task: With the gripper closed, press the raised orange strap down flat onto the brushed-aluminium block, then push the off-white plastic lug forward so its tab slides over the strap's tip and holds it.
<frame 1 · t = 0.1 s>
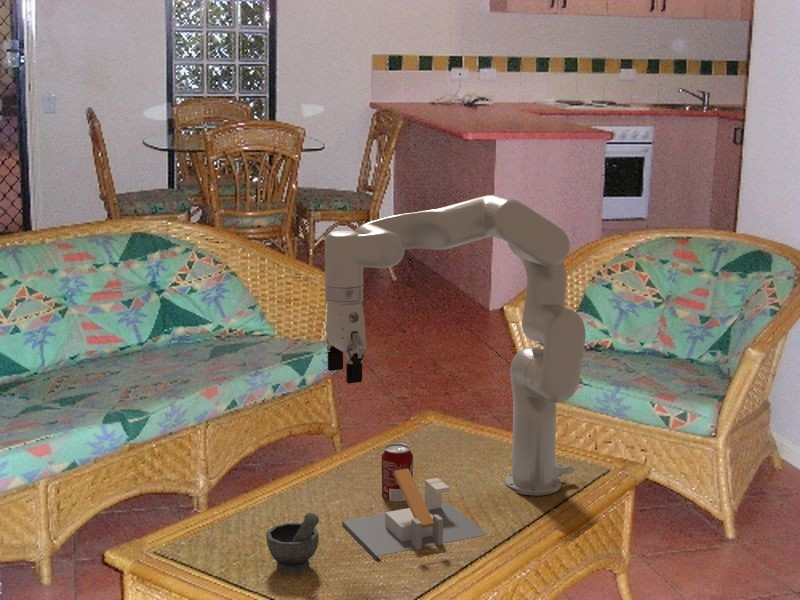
hand: (344, 376, 233), 31 cm above the table, fingers open, 9 cm apart
lug: (436, 496, 241), point 4 cm above the table, slide at 0.0 cm
soda can: (397, 500, 251), on the table
strap: (413, 497, 230), point 8 cm above the table, hinge at -30.0°
board: (413, 533, 234), on the table
mortar and pestle: (295, 568, 218), on the table
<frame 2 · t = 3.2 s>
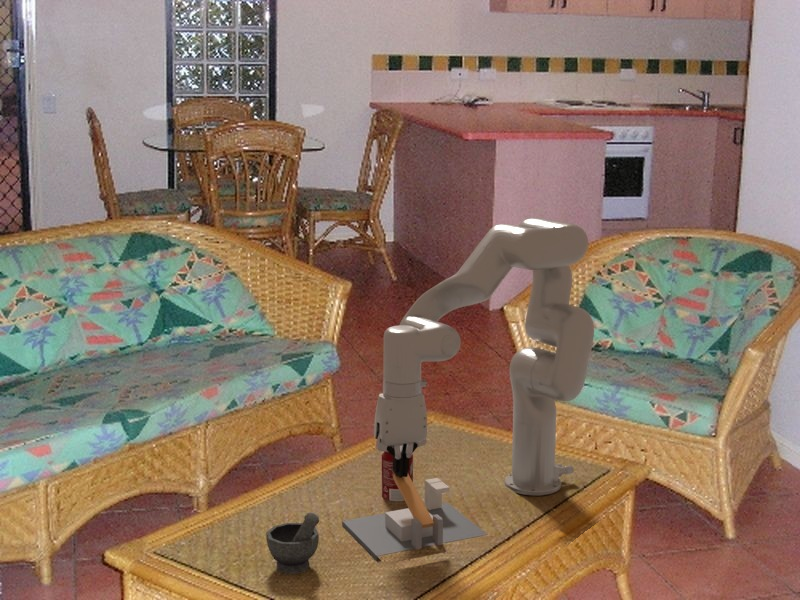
hand: (400, 475, 234), 12 cm above the table, fingers closed
strap: (413, 499, 230), point 8 cm above the table, hinge at -25.6°, touching gripper
everything else where it was.
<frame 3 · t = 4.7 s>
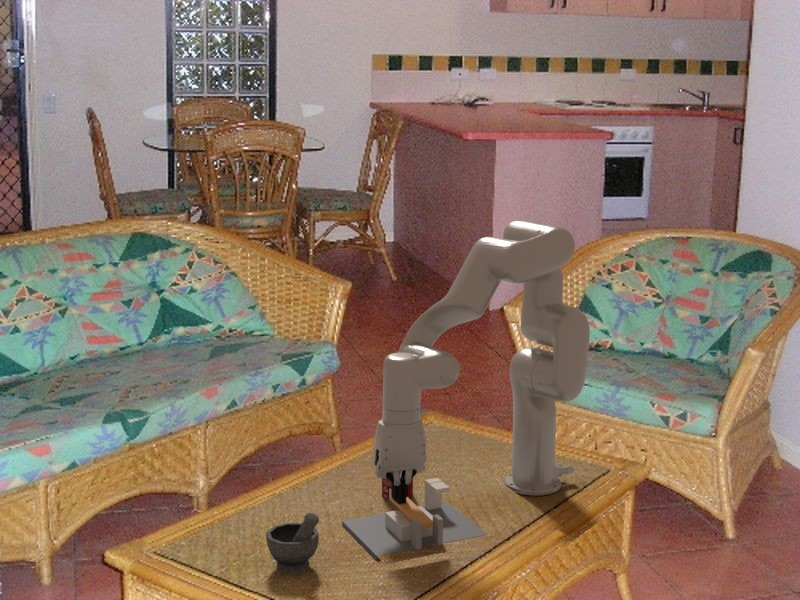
hand: (399, 501, 234), 6 cm above the table, fingers closed
strap: (411, 510, 231), point 5 cm above the table, hinge at -3.0°, touching gripper
everything else where it was.
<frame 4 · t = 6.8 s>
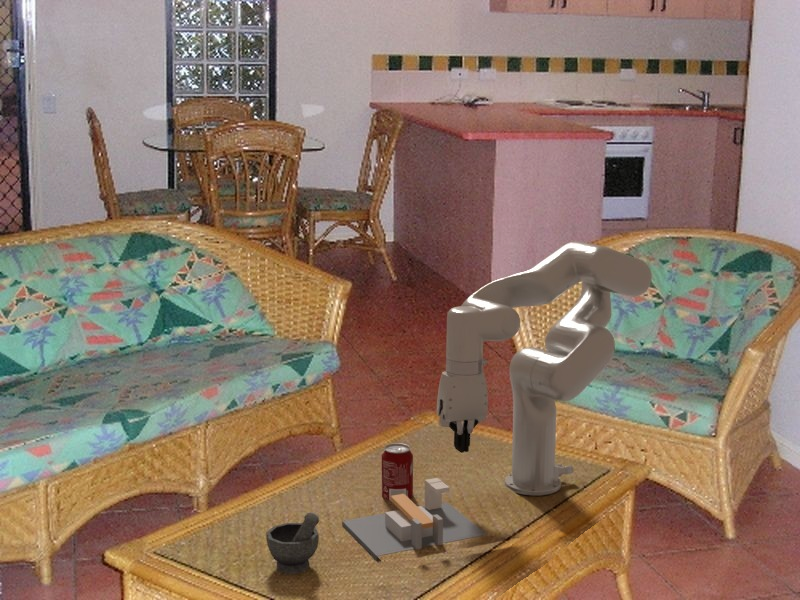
hand: (461, 450, 243), 13 cm above the table, fingers closed
strap: (411, 510, 231), point 5 cm above the table, hinge at -2.9°
everything else where it was.
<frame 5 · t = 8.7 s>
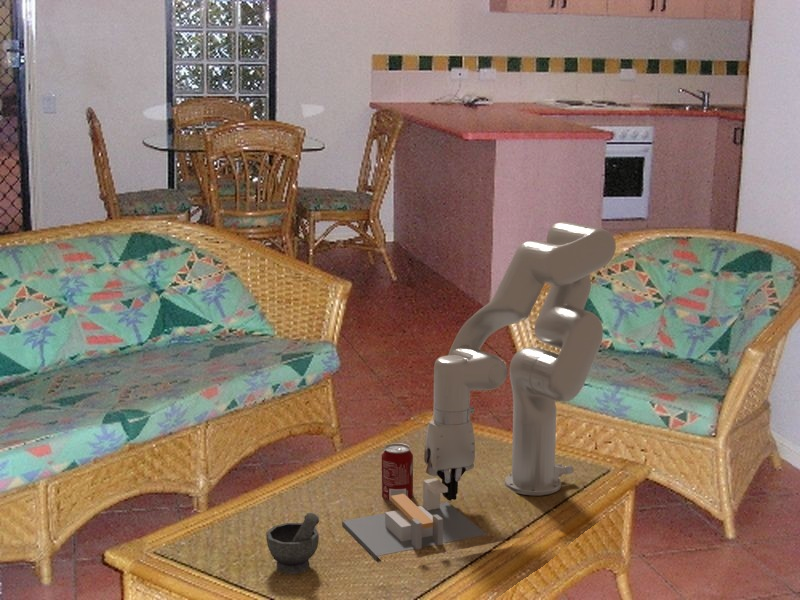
hand: (449, 497, 245), 3 cm above the table, fingers closed
lug: (435, 497, 241), point 4 cm above the table, slide at 0.4 cm, touching gripper
everything else where it was.
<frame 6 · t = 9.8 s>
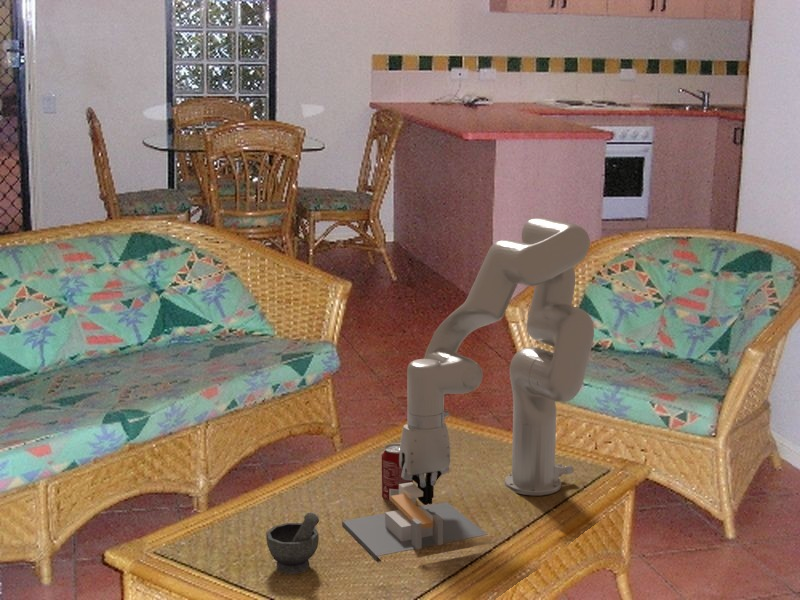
hand: (425, 502, 242), 3 cm above the table, fingers closed
lug: (410, 501, 239), point 4 cm above the table, slide at 6.0 cm, touching gripper, strap
strap: (411, 510, 231), point 5 cm above the table, hinge at -2.9°, touching lug
everything else where it was.
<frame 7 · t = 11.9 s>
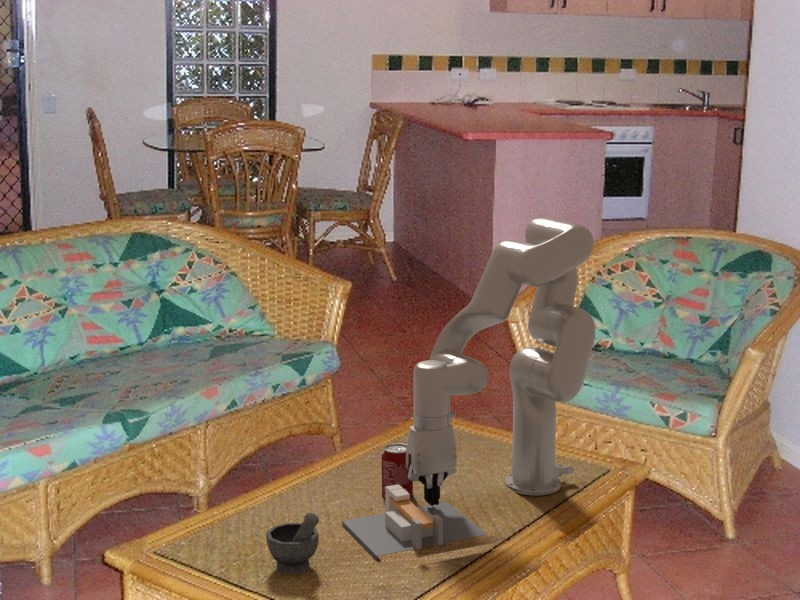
hand: (432, 502, 243), 2 cm above the table, fingers closed
lug: (397, 503, 238), point 4 cm above the table, slide at 9.0 cm
strap: (411, 511, 231), point 5 cm above the table, hinge at -1.4°
everything else where it was.
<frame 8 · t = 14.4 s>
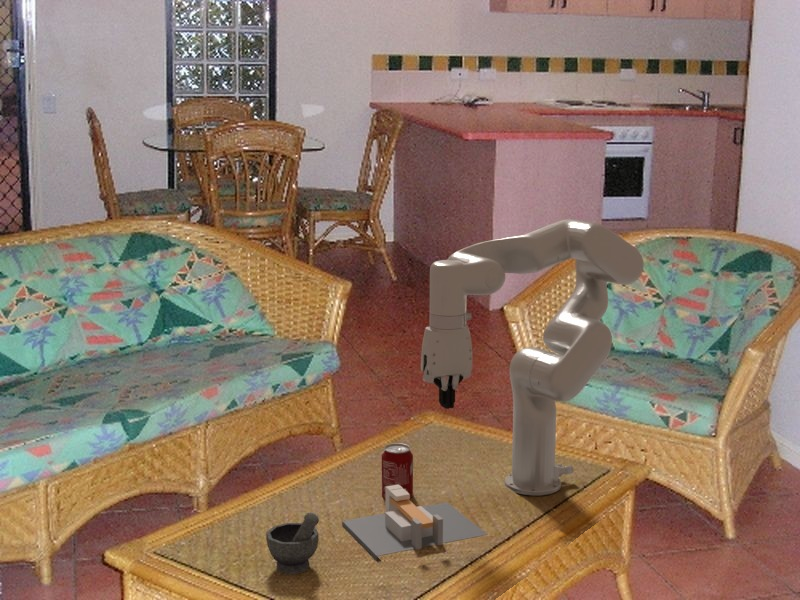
hand: (446, 406, 240), 23 cm above the table, fingers closed
nothing on the table moved.
at the end: strap at -1° (first picture: -30°); lug slide at 9.0 cm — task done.
